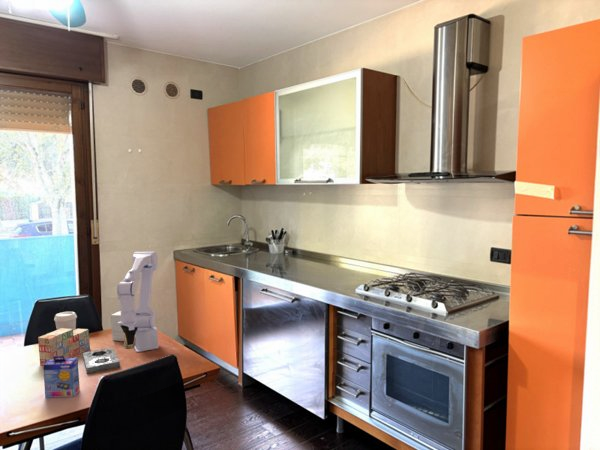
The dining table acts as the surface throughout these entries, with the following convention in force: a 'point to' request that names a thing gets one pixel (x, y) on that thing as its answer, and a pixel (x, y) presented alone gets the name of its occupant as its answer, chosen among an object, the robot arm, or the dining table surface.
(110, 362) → the plate
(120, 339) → the supplement box
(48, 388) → the ink cartridge box
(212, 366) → the dining table surface
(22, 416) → the dining table surface
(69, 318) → the coffee cup
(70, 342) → the stack of blocks
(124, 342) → the gold rounded cylinder
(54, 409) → the dining table surface
